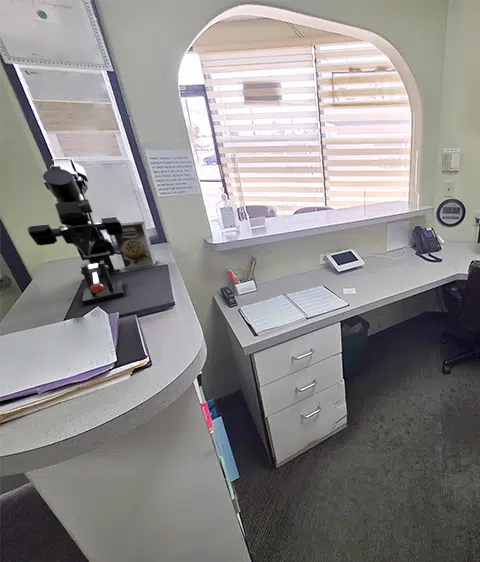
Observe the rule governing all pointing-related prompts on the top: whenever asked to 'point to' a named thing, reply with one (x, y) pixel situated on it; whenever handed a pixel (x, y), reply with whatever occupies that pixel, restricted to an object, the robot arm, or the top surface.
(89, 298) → the black lever stand
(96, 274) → the lever
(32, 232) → the robot arm
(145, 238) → the cookie box
